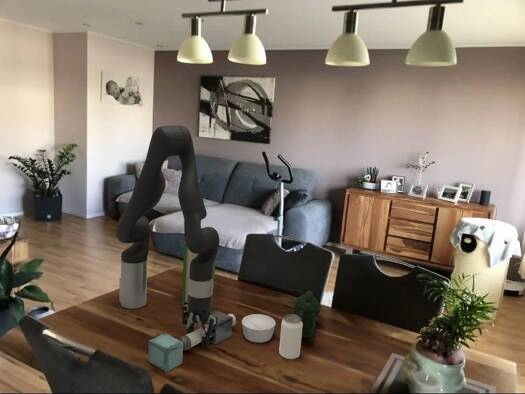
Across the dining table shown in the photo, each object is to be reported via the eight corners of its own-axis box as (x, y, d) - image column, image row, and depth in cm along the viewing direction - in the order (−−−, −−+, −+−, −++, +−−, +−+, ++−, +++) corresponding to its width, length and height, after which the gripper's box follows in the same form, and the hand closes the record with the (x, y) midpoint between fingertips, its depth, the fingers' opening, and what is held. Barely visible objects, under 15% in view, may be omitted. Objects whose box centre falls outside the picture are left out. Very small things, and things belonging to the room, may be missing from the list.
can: (298, 361, 126) (302, 324, 124) (277, 357, 128) (280, 321, 125) (300, 350, 133) (304, 315, 131) (280, 347, 134) (283, 312, 132)
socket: (148, 361, 121) (148, 340, 120) (164, 353, 126) (165, 333, 124) (166, 372, 116) (166, 350, 115) (182, 363, 121) (183, 342, 120)
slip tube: (178, 347, 128) (179, 334, 127) (226, 322, 145) (227, 311, 144) (188, 352, 125) (188, 339, 124) (235, 326, 143) (236, 315, 142)
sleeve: (198, 336, 137) (199, 317, 136) (215, 327, 143) (216, 309, 142) (215, 344, 132) (216, 325, 131) (231, 335, 139) (233, 317, 138)
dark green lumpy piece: (318, 355, 134) (318, 314, 158) (324, 302, 129) (323, 268, 153) (289, 351, 135) (293, 311, 159) (293, 298, 130) (297, 265, 154)
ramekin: (235, 339, 136) (236, 324, 136) (248, 325, 147) (249, 311, 146) (267, 348, 133) (269, 332, 132) (278, 332, 143) (279, 318, 142)
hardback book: (200, 306, 158) (203, 245, 154) (181, 304, 159) (184, 243, 155) (213, 289, 175) (216, 233, 171) (196, 286, 176) (199, 231, 172)
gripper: (175, 288, 129) (173, 338, 132) (208, 302, 121) (205, 355, 124) (192, 281, 135) (190, 330, 138) (225, 295, 127) (222, 346, 130)
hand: (197, 342), depth 131 cm, fingers open, 5 cm apart
